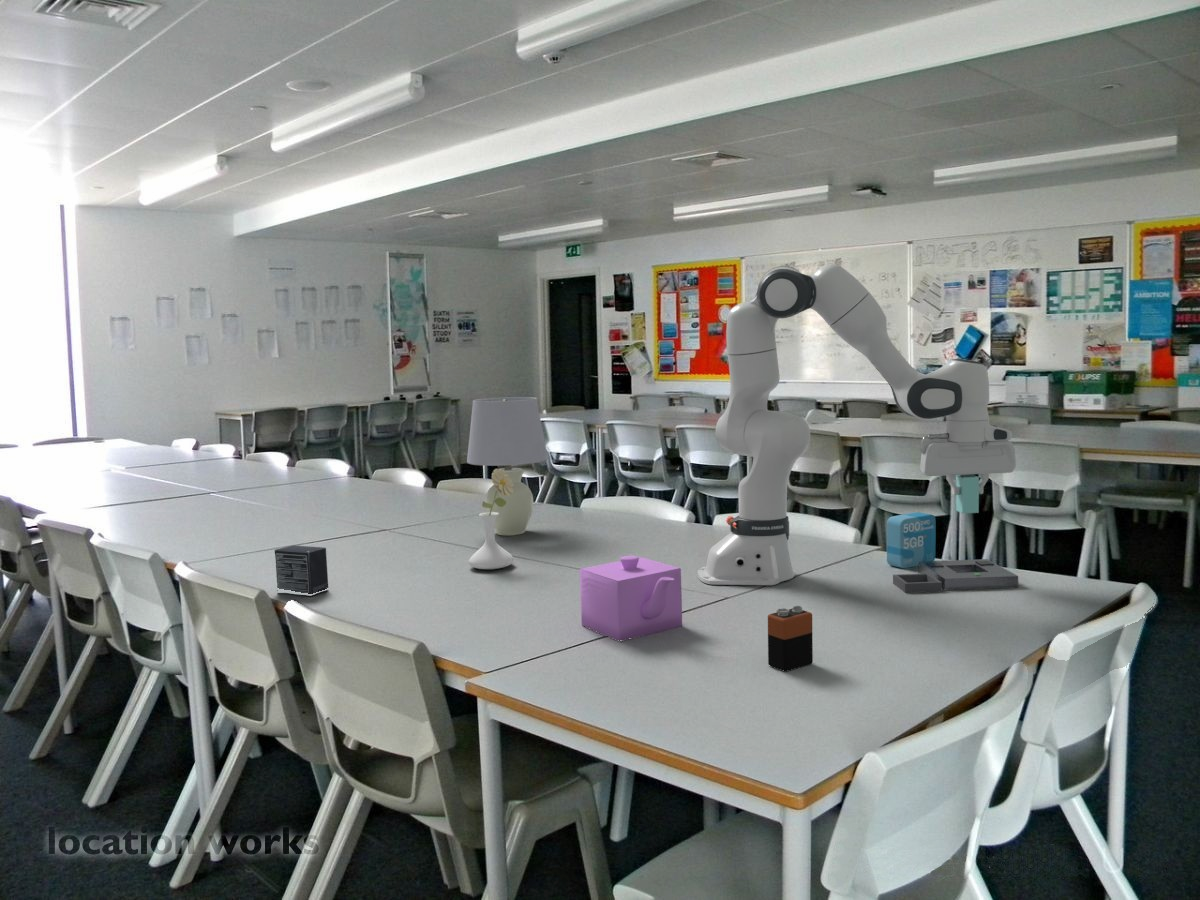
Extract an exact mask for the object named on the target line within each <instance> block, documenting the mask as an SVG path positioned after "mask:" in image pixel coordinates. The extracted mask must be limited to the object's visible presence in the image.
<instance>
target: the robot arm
mask: <svg viewBox="0 0 1200 900" xmlns="http://www.w3.org/2000/svg"><path fill="white" fill-rule="evenodd" d="M756 290H757V291H756V294H755V295H754V298H753V299H751V300H749V301H743V302H740V303H738V304H735V305H734V306H733V307H731V309H730V310H729V311H728V314H727V318H726V333H725V334H726V350H727V358H728V369H729V381H730V390H729V391H730V393H729V397H728V403H727V406H726V409H725V410H724V412H723V414H722V415H721V416H720V417H719V418H718V420H717V422H716V424H715V425H716V426H715V438H716V441H717V444H718V445H719V447H721V448H722V449H723V450H726V451H728V452H730V453H733V454H735V455H738V456H747V457H752V458H753V460H752V465H751V467H750V470H749V473H748V474H747V475H746V476H744V477H743V478H742V479H741V480H740V482H738V483H739V484H738V488H737V489H738V515H737V516H736V517H733V516H732V515H728V516H727V517H726V519H725V521H726V524H727V525H728V526H729V529H730V532H729V533H728V534H727V535H726V536H724V537H723V538H721V539H720V540H719V541H717V542H716V544H714V545H712V546H711V547H710V549H709V551H708V553H707V554H708V555H707V559H706V564H705V565H706V566H702V567H700V568H699V569H698V570H697V578H698V580H700V581H701V582H702V583H705V584H708V585H714V586H716V585H723V586H724V585H727V586H728V585H729V586H730V585H732V586H734V585H735V586H736V585H737V586H738V585H739V586H775V585H777V584H779V583H781V582H784V581H785V582H786V581H788V580H791V579H793V578H794V577H795V572H794V569H793V566H792V561H791V555H790V549H789V547H790V546H789V540H790V539H789V538H790V520H789V516H787V515H788V514H787V511H788V509H787V507H788V504H787V503H788V501H787V498H788V483H789V478H790V476H791V472H792V469H793V467H794V465H795V463H796V462H797V460H798V459H799V458H800V457H801V456H803V455H804V454H805V453H806V452H807V450H808V448H809V446H810V443H811V430H810V429H811V428H810V427H809V424H808V422H807V421H806V420H805V418H803V417H802V416H798V415H796V414H793V413H791V412H787V411H782V410H781V411H780V410H768V401H769V395H770V393H771V392H772V391H773V390H775V389H776V388H777V386H778V385H779V383H780V370H779V361H778V360H779V359H778V351H777V344H776V343H777V342H776V324H777V322H778V321H779V319H787V318H792V317H794V316H796V315H798V314H800V313H802V312H804V311H807V310H809V309H811V310H813V311H815V312H816V313H817V314H818V315H819V316H820V317H821V318H822V319H823V320H824V322H825V323H826V324H827V325H828V326H829V328H830V329H832V330H833V332H835V334H836V335H837V336H838V337H840V338H841V339H842V340H843V341H844V342H845V343H847V344H848V345H849V346H851V347H852V348H854V349H855V350H856V351H858V352H860V353H861V354H862V355H863V356H864V357H865V358H866V359H867V360H869V362H870V363H871V364H872V365H873V366H874V368H875V369H876V370H877V371H878V373H879V374H880V375H881V376H882V377H883V378H884V379H885V381H886V383H888V385H889V386H890V389H891V392H892V395H893V400H894V402H895V405H896V407H897V408H898V409H899V411H901V412H902V413H903V414H905V415H907V416H910V417H914V418H918V419H921V420H933V419H938V418H942V417H946V418H945V419H946V420H945V421H946V427H945V428H946V431H945V433H929V434H927V435H926V436H924V437H922V439H921V440H920V451H921V456H920V462H919V463H920V465H919V467H920V468H919V469H920V472H921V474H923V475H924V476H926V477H938V476H939V477H942V476H946V478H945V479H946V481H947V482H948V485H950V488H951V490H950V491H951V493H950V494H951V495H953V496H956V495H960V494H961V492H960V491H961V487H959V486H956V475H968V474H975V475H978V477H979V495H983V494H984V487H985V485H986V483H988V481H989V479H990V478H989V475H990V474H1007V473H1008V474H1009V473H1010V474H1011V473H1013V472H1014V471H1015V469H1016V465H1017V463H1016V461H1017V459H1016V450H1015V446H1014V444H1013V442H1012V441H1010V440H1012V438H1013V432H1012V431H1011V430H1009V429H1007V428H1004V427H1003V428H1002V427H998V426H997V425H994V424H990V416H989V412H988V405H989V402H990V381H989V373H988V369H987V366H986V365H985V364H984V363H982V362H980V361H978V360H977V361H976V360H970V359H964V358H963V359H962V358H954V359H950V360H949V361H948V362H947V363H946V364H944V365H942V366H941V367H939V368H937V369H936V370H934V371H931V372H929V373H923V372H920V371H919V370H918V369H915V368H914V367H913V366H912V365H911V364H910V363H909V362H908V361H907V360H906V358H905V357H904V355H902V353H901V351H900V350H899V349H897V347H896V346H895V345H894V344H893V342H892V340H891V339H890V337H889V334H888V327H887V321H888V320H887V316H886V315H885V313H884V311H883V309H882V307H881V306H880V304H879V303H878V301H877V300H876V298H875V297H874V296H873V295H872V294H871V292H870V291H869V290H868V289H867V288H866V287H865V286H864V285H863V284H862V283H861V282H860V281H859V280H858V279H857V278H856V277H855V276H853V274H851V273H850V272H849V271H847V270H846V269H845V268H844V267H842V266H841V265H839V264H836V263H829V264H825V265H822V266H821V267H819V268H817V269H816V270H814V271H813V272H812V273H810V274H804V273H801V272H800V271H799V269H797V268H795V267H793V266H790V265H789V266H788V265H779V266H776V267H773V268H771V269H768V271H766V272H765V273H764V275H763V276H762V277H761V278H760V280H759V283H758V285H757V289H756Z"/></svg>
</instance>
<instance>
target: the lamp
mask: <svg viewBox="0 0 1200 900" xmlns="http://www.w3.org/2000/svg"><path fill="white" fill-rule="evenodd" d="M538 404H539V403H538V398H537V397H533V396H531V397H530V396H528V397H527V396H524V397H523V396H516V397H514V396H513V397H492V398H491V397H490V398H479V399H478V398H477V399H474V400H472V408H471V417H470V418H471V419H470V427H469V428H470V430H469V438H468V449H467V458H466V462H467V464H469V465H473V466H485V467H486V466H491V467H493V466H497V467H501V466H504V467H501V468H497V469H498V471H499V469H502V470H503V471H504V472H505V475H509V476H510V480H512V483H513V484H514V487H512V488H513V489H514V491H513V492H514V493H513V494H512V493H510V494H511V497H509V496H508V497H507V496H503V495H500V494H499V492H498V491H497V494H496V498H495V500H496V499H497V498H498V497H500V498H502V499H504V500H505V501H506V505H504V506H503V507H499V506H498V505H497V504H496V503H495V502H494V505H493V508H492V511H491V512H497V513H499V515H498V516H497V518H496V521H495V527H494V531H495V533H496V534H497V535H498V536H507V537H509V536H511V537H512V536H519V535H523V534H525V533H526V529H527V527H528V525H529V523H530V520H531V517H532V513H533V508H534V495H533V493H532V490H531V489H530V487H529V486H528V485H526V484H525V483H524V482H522V478H523V474H524V472H525V471H524V469H523V468H521V467H512V466H517V465H528V464H529V465H530V464H536V463H541V462H542V463H543V462H545V461H547V460H548V459H549V457H548V452H547V446H546V441H545V435H544V430H543V425H542V420H541V414H540V409H539V405H538ZM494 470H495V469H493V470H492V473H494ZM495 493H496V489H495V488H494V484H493V485H492V486H490V488H489V489H488V490H487V493H486V495H485V502H486V503H488V504H492V503H493V500H494V496H495ZM490 509H491V508H486V511H487V512H490ZM496 534H495V535H496Z"/></svg>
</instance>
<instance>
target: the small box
mask: <svg viewBox="0 0 1200 900" xmlns="http://www.w3.org/2000/svg"><path fill="white" fill-rule="evenodd" d="M274 557H275V572H276V573H275V574H276V583H277V585H276V587H277V588H279V589H284V590H291V591H295V592H301V593H308V594H313V593H316V592H319V591H322V590H325V589H327V588H329V577H328V561H327V559H328V558H327V547H321V546H308V545H307V546H305V545H293V544H292V545H289V546H286V547H282V548H277V549H274Z"/></svg>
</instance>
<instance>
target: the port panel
mask: <svg viewBox="0 0 1200 900" xmlns="http://www.w3.org/2000/svg"><path fill="white" fill-rule="evenodd" d="M924 573H929V574H930V575H932V576H933V577H935V578H936V579H938V580H939V581H941V582H942V590H944V591H953V590H954V591H955V590H958V589H959V590H977V589H978V590H981V588H982V589H984V590H985V588H986V589H1006V588H1005V587H1013V588H1018V587H1019V575H1017V574H1015V573H1013V572H1011V571H1010V570H1008V569H1006V568H1004V567H1002V566H1000V565H999V564H997V563H995V562H993V561H991V560H989V559H985V558H984V559H955V560H953V559H952V560H934V561H924V562H919V566H918V574H924ZM959 590H958V591H959Z"/></svg>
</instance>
